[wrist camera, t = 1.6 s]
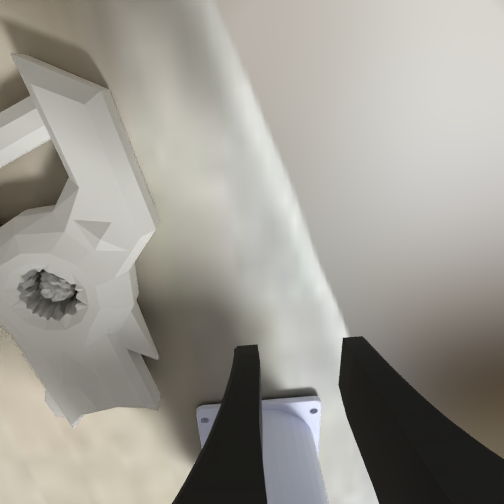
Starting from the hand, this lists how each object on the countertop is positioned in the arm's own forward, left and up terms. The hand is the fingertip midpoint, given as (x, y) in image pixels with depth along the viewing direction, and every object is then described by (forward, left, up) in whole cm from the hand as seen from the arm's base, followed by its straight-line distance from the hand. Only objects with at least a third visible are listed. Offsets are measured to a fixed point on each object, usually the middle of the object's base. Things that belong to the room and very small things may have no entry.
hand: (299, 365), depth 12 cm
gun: (0, +10, -9) cm, 13 cm away
